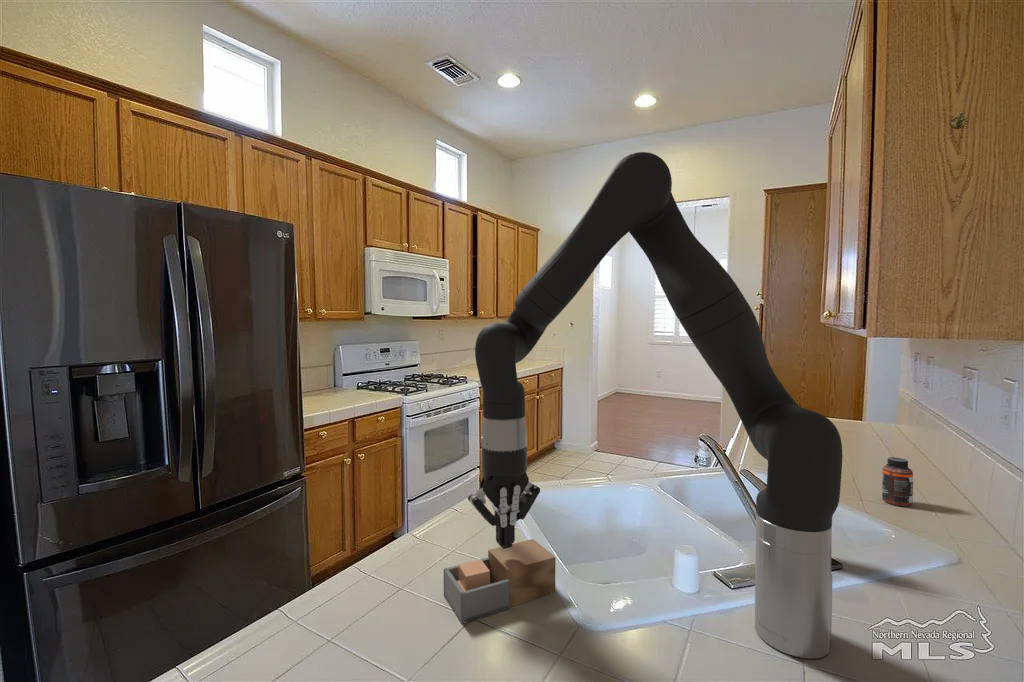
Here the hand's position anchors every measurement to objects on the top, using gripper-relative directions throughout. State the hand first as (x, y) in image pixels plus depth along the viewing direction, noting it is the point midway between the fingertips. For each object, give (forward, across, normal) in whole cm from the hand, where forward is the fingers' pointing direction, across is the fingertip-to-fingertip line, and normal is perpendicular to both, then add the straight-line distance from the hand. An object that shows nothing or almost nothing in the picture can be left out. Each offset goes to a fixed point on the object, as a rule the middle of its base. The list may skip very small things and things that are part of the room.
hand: (505, 546), depth 76 cm
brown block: (+8, +3, 0) cm, 9 cm away
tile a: (+5, -6, 0) cm, 8 cm away
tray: (+8, -6, 0) cm, 10 cm away
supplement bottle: (+9, +106, -11) cm, 107 cm away
